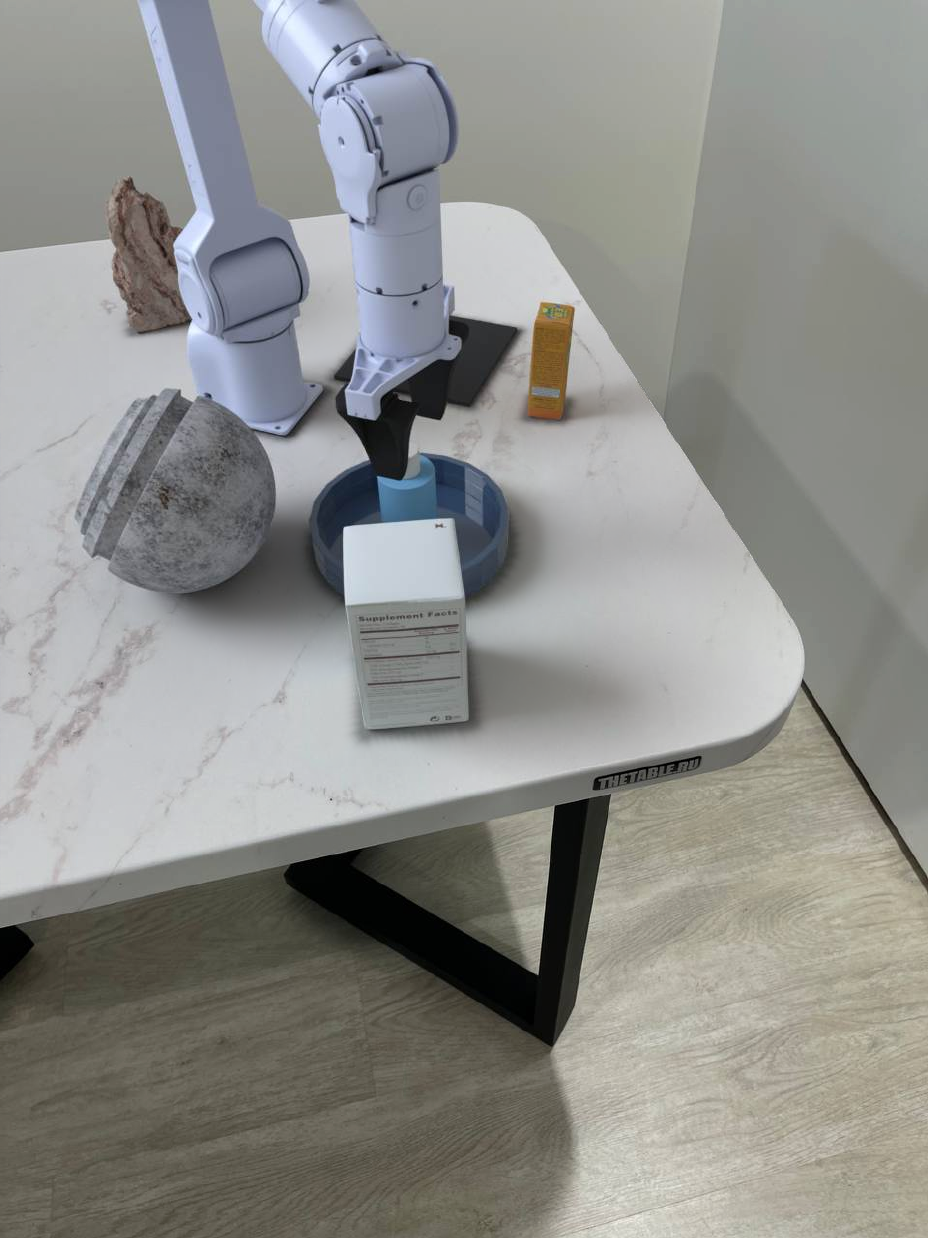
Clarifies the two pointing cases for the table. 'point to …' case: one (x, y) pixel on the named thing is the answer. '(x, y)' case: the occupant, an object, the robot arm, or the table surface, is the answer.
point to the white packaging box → (407, 622)
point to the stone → (144, 258)
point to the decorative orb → (178, 495)
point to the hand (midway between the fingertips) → (410, 444)
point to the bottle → (410, 491)
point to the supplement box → (550, 360)
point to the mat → (462, 360)
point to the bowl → (457, 497)
